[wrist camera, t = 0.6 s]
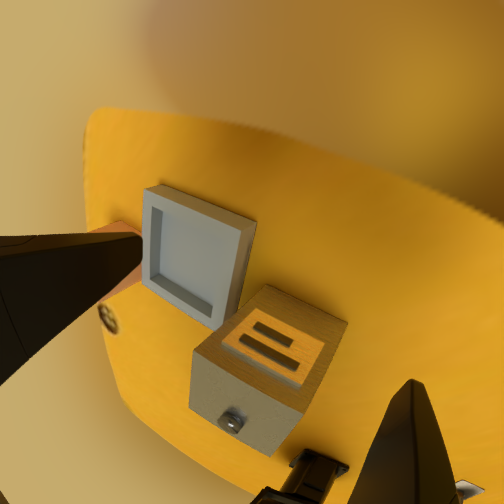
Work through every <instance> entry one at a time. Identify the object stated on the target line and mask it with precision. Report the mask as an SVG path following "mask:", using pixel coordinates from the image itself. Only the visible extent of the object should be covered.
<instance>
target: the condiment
mask: <svg viewBox="0 0 504 504" xmlns="http://www.w3.org/2000/svg"><path fill="white" fill-rule="evenodd" d="M455 484H456V488H457V492H456V493H458V497H459V501H460V504H463V500H466V499H468V498H470V497H472V496H475V495H478V494H480V493H482V492H485V491H484V490H483V489H481V488H479V487H477V486H475V485H473V484H470V483H468V482H466V481H464V480H462V481H460V482H458V483H455ZM464 495H465V496H464Z"/></svg>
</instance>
